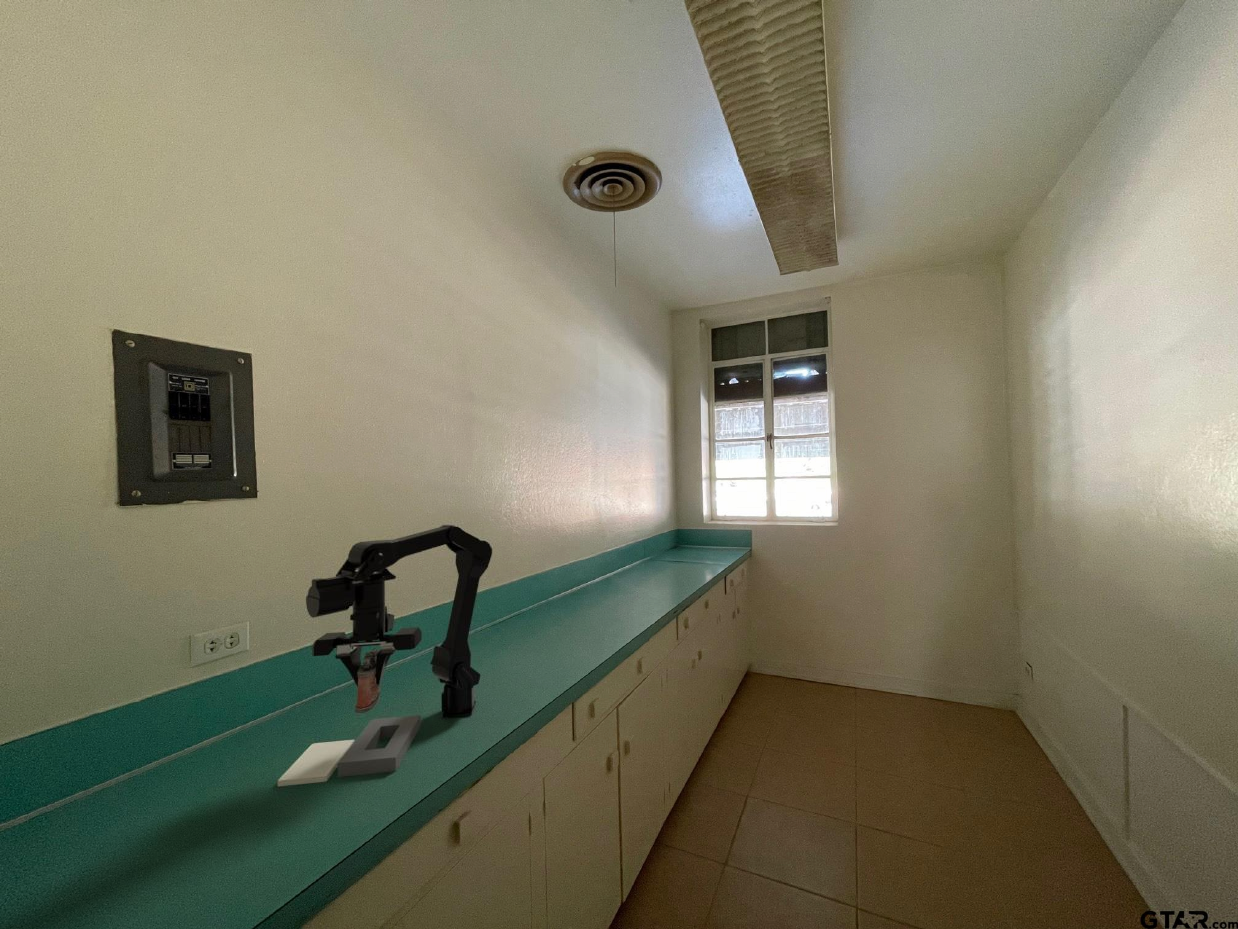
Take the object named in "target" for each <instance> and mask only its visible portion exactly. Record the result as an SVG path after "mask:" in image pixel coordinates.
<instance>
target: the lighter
mask: <svg viewBox="0 0 1238 929" xmlns="http://www.w3.org/2000/svg"><path fill="white" fill-rule="evenodd" d="M379 651H380V650H379V648H378V647H374V648H373V649H372V650H371V651H370V652H366V653H365V654H364V658H363V659H362V660H363V661H362V664H361V667H360V668H359V670H358V674H357V676H358V687H357V692H356V693H357V694H356V695H357V697H356V705H355V707H354V709H355V710H354V712H355V714H359V715H360V714H366V713H369V712H371V711H372V710H373V709H374V708H375V707H376V706H377V705H378V703H379V701H380V698H381V691H380V687H381V686H380V685H381V683H380V684H379V685H377V682H376V654H377V653H378V652H379Z"/></svg>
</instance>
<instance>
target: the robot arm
mask: <svg viewBox="0 0 1238 929" xmlns="http://www.w3.org/2000/svg"><path fill="white" fill-rule="evenodd" d="M444 545H445V546H446V547H447V549H448V550H450V551H451V552H452V553H454V554H455V567H456V571H457V576H458V577H457V578H458V579H457V584H456V588H455V592H454V597H453V602H452V606H451V611H450V617H449V622H448V627H447V631H446V636H445V640H443V642H442V643H441V644H440V646H439V645H435V646H434V647H433V652H432V653H433V655H432V658H431V661H430V663H429V664H430V665H431V670H432V673H433V675H434V676H435V677H436V678H437V679H438V681H439V683H441V684H444V686H443V690H442V692H441V694H440V695H441V696H440V697H441V698H440V699H441V701H440V702H441V703H440V704H441V706H440V707H441V712H442V714H441V717H442V718H443V719H445V718H456V717H465V716H467V717H468V716H471V715H473V712H474V709H475V707H476V704H477V701H476V700H475V686H477V685H479V683H480V679H481V673H479V671H477V670H476V669H474V668H473V667H472V666H471V664H472V652H471V649H470V646H469V635H470V630H471V626H472V619H473V614H474V610H475V604H476V599H477V594H478V589H479V583H480V580H481V579H480V578H481V577H482V576H483V574H484V573H485V572H486V571H487V569H488V568H489V564H490V562H491V559H492V556H493V548H492V546H491V544H490V543H489V542H488V541H486V540H482V539H479V538H478V537H476V536H474V535H472V534H470V533H468V532H467V531H466V530H464V529H462V528H461V527H459V526H458V525H455V524H453V525H452V524H443V525H441V526H439V527H435V528H432V529H428V530H424V531H421V532H417V533H413V534H409V535H405V536H402V537H397V538H394V539H380V540H367V541H366V540H365V541H359V542H357V543H354V544H353V545H352V547H351V548H350V549H349V551H348V552H349V553H348V555H347V558H346V560H345V561H344V563H343V564H342V565H341V567H340V568H339V570H338V571H337V573H336V574H335V576H331V577H327V578H326V577H325V578H314V579H311V585H310V587H309V588H308V591H307V595H306V597H305V603H306V605H305V606H306V610H307V612H308V616H310V617H311V618H318V617H322V616H327V615H332V614H336V613H340V612H342V613H343V612H345V611H346V612H347V611H348V610H349V609H350V607H352V613H351V614H349V618H350V621H352V634H351V635H350V636H347V634H346V632H345V631H340V632H338V631H337V632H327V633H324V634H323V635H322V636H320V637H318V638H317V639H316V640H314V642H313V644H312V647H311V656H312V657H321V656H322V657H323V656H324V657H325V656H329V655H330V654H331V653H332V652H334V650H335V649H336V655H335V656H334V659H336V660H340V661H341V663H342V664H343V666H344V667H345V668H346V669H347V670H348V673H349V674H350V676H351V678H352V680H353V681H354V683H355V685H356V686H357V687H356V688H358V676H357V674H358V670H359V668H360V667H361V666H362V658H361V656H362V655H361V654H362V650H363V647H372V646H380V650H379V652H378V653H377V654H376V682H377V685H379V684H380V685H381V683H382V680H383V678H384V674H385V671H386V668H387V666H388V664H389V660H390V658H391V656H392V655H394V654H395V653H396V651H410V650H414V649H415V648H416V647H417V646H418V645H419V644H420V643H421V641H422V640H423V639H422V638H423V636H422V635H423V634H422V629H420V628H419V627H404V628H400V629H399V630H398V631H397V632H396V633H393V634H392V633H391V634H386V633H389V632H391V631H394V624H395V623H394V622H395V614H391V613H388V607H387V605H386V581H387V582H388V581H391V580H392V581H393V580H395V579H396V578H397V577H396V575H395V574H393V573H392V572H390V570H389V569H388V568H389V567H392V566H394V565H395V564H396V563H398V562H399V561H400V560H401V559H404V558H405V557H408V556H411V555H415V554H418V553H421V552H425V551H428V550H431V549H435V548H438V547H442V546H444Z"/></svg>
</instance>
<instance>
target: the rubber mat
mask: <svg viewBox="0 0 1238 929" xmlns="http://www.w3.org/2000/svg"><path fill="white" fill-rule="evenodd" d="M355 740H356V739H347V740H336V741H327V742H326V741H325V742H317V743H316V742H315V743H311V745H310V746H309V747H308V748H307V749H306V750H304V752H303V753H301V755H300V756H299V758H298V759H296V760H295V762H293V764H291V766H290V767H289V768H288V769H287V770H286V771H285V772H284V773H283V774H282V775H281V777H280V778H278V780H277V787H285V786H286V787H287V786H295V785H304V784H313V783H314V784H315V783H323V782H327V781H328V780H329V779H330V777H331V776H332V775H333V774H334V772H335V771H336V770H337V769H338V762H339V761H340V759H341V758H342V757H343V756H344V754H345V753H346V752H347V751H348V749H349V748H350V747H351V745H352V744H353V743H354V742H355Z"/></svg>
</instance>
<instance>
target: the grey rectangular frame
mask: <svg viewBox="0 0 1238 929" xmlns="http://www.w3.org/2000/svg"><path fill="white" fill-rule="evenodd" d="M421 721H422V720H421V715H420V714H418V715H417V714H416V715H406V716H393V717H383V718H381V717H380V718H372V719H371V720H370V721H369V722H368V724H366V726H365V728H363V730H362V732H360V734H359V735H358V737H357V738H356V739H354V740H355V742H354V743H353V744H352V745H351V747H350V748H349V749H348V751H347V752H346V753H345V754H344V756H343V757H342V758H341V759H340V761H339V762H338V767H337V778H341V777H351V776H362V775H370V774H372V775H373V774H379V773H380V774H382V773H391V772H397V770H398V768H399V766H400V765H401V763H402V762H403V759H404V757H405V756H406V754H407V752H408V750H409V748H410V746H411V745H412V743H413V742H414V739H415V738H416V736H417V734H418V732H419V731H420V729H421V726H422V724H421ZM381 739H382V740H383V739H389V742H388V743H387V744H386V746H385V747H383V748H382V747H381V748H376V747H377V745H378V743H379V742H380V741H381Z"/></svg>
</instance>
